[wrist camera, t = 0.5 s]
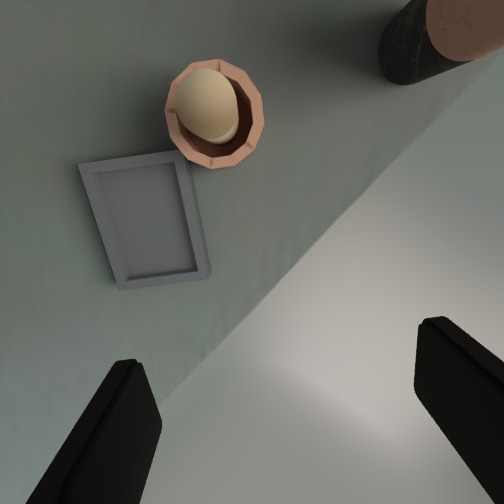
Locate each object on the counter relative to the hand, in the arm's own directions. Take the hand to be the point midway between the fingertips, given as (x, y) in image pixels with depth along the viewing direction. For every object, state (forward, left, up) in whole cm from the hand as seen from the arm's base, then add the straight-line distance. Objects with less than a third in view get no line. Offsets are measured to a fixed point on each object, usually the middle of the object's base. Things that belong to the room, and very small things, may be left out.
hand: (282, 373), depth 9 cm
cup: (-11, -3, -28) cm, 30 cm away
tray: (-1, -13, -28) cm, 30 cm away
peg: (-11, -3, -27) cm, 29 cm away
